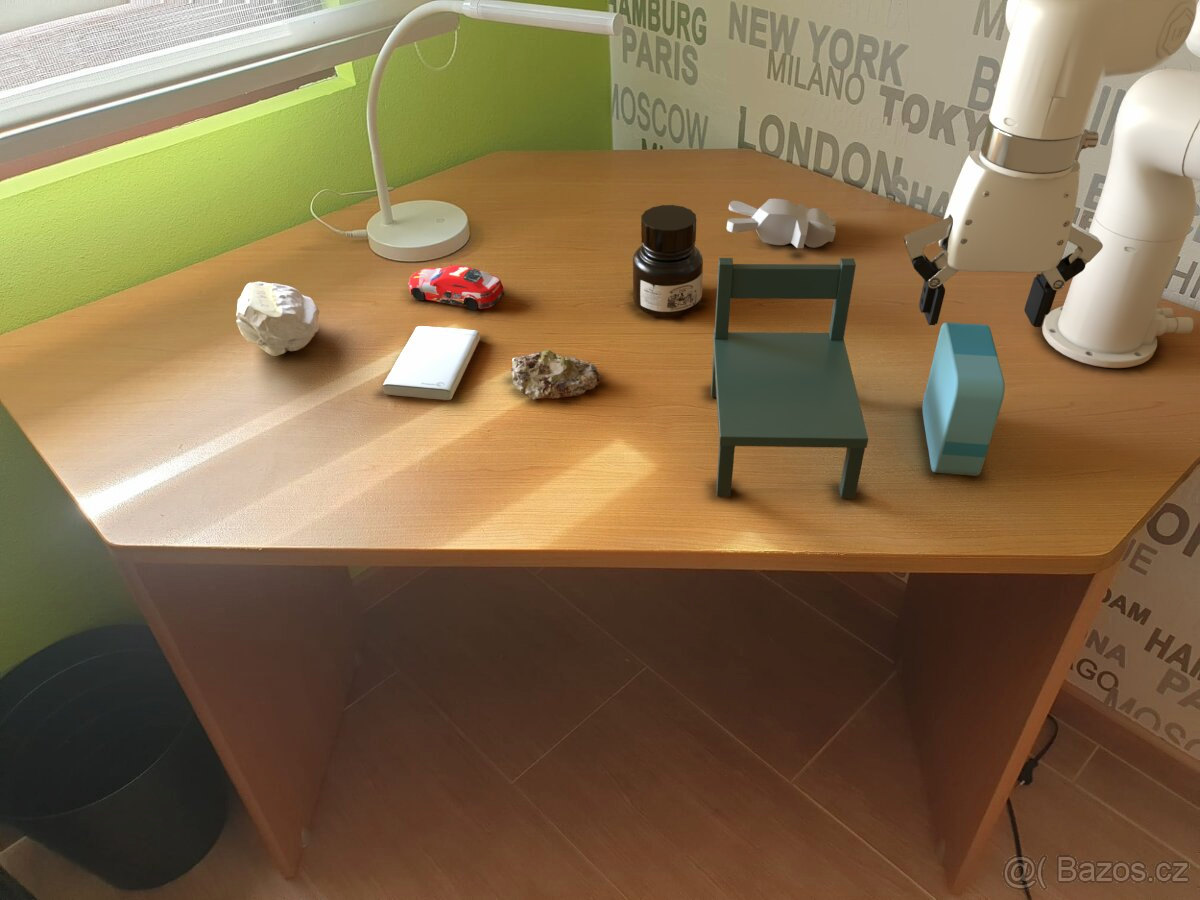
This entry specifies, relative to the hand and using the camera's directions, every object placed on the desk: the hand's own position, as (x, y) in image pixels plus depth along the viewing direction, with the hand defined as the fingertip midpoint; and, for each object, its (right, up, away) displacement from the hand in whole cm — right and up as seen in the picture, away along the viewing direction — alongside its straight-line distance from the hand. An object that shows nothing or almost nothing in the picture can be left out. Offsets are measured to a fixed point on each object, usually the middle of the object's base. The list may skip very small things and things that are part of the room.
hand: (980, 318), depth 91 cm
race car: (-56, +8, +36) cm, 67 cm away
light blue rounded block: (+1, -12, +11) cm, 16 cm away
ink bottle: (-28, +7, +34) cm, 44 cm away
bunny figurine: (-11, +18, +46) cm, 50 cm away
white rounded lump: (-76, +1, +29) cm, 81 cm away
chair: (-17, -12, +12) cm, 24 cm away
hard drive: (-56, -3, +24) cm, 61 cm away
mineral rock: (-42, -5, +21) cm, 47 cm away
